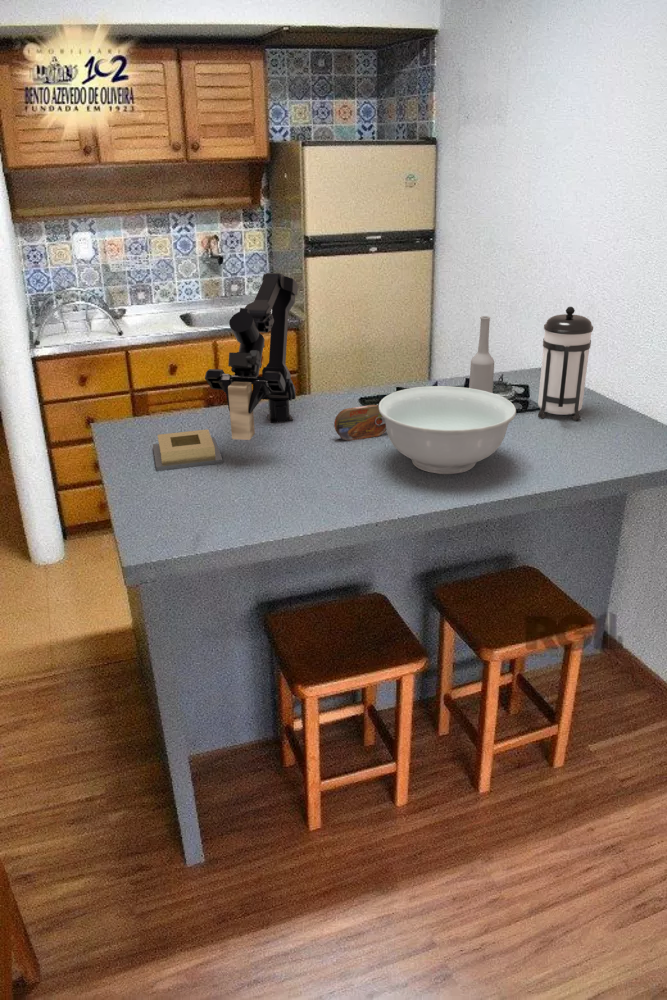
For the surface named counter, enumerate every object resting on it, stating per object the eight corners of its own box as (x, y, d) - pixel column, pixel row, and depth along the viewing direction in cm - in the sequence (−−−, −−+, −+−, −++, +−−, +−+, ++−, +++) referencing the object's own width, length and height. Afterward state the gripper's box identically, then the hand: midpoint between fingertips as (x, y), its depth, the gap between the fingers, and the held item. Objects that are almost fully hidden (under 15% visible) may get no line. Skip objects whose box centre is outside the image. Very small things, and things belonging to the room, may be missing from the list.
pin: (237, 432, 191) (233, 381, 186) (254, 433, 190) (251, 382, 185) (232, 439, 187) (227, 387, 182) (249, 440, 186) (245, 387, 181)
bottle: (465, 419, 217) (471, 319, 205) (469, 412, 223) (474, 313, 211) (489, 421, 215) (496, 320, 203) (492, 413, 221) (499, 314, 209)
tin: (337, 442, 203) (336, 412, 199) (333, 438, 206) (332, 408, 202) (390, 435, 207) (390, 405, 204) (385, 431, 210) (386, 401, 206)
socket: (153, 447, 202) (151, 433, 200) (214, 441, 206) (213, 426, 204) (156, 470, 188) (154, 455, 186) (222, 463, 192) (221, 448, 190)
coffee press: (518, 410, 223) (527, 305, 210) (562, 402, 229) (573, 299, 216) (558, 429, 208) (570, 316, 196) (604, 419, 214) (619, 310, 202)
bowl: (540, 470, 184) (546, 411, 178) (429, 501, 170) (431, 438, 163) (456, 430, 209) (458, 377, 203) (353, 454, 195) (352, 398, 189)
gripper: (203, 336, 184) (191, 395, 179) (279, 338, 181) (269, 398, 175) (217, 359, 194) (206, 416, 189) (289, 362, 191) (280, 419, 186)
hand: (239, 412), depth 185 cm, fingers closed on pin, 4 cm apart
